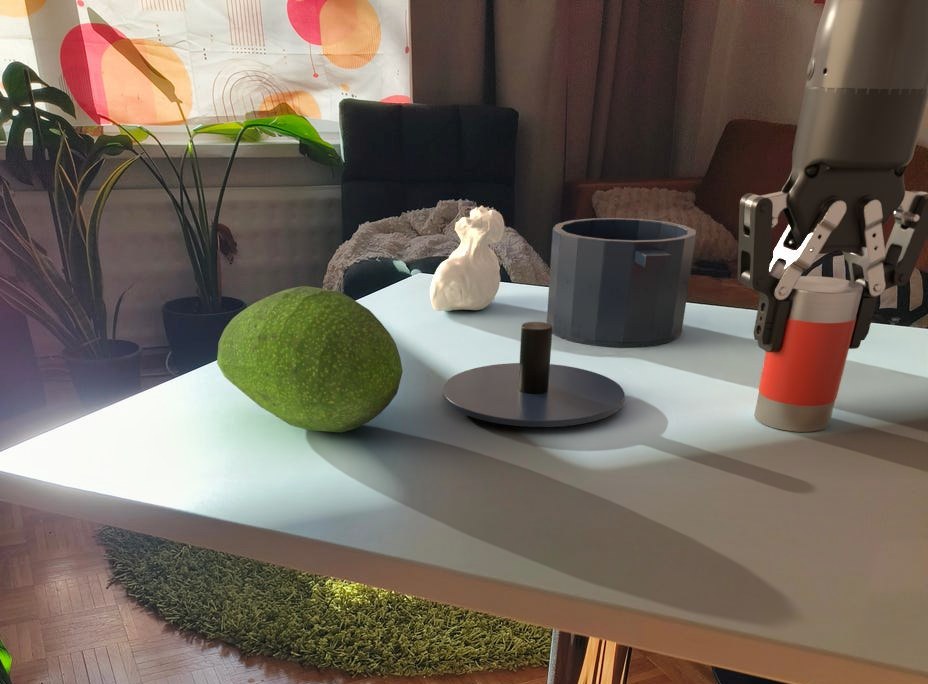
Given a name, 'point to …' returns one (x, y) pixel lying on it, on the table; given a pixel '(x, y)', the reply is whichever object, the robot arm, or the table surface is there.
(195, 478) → the table surface
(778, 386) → the can
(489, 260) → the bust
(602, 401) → the lid
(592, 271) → the pot
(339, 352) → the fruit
